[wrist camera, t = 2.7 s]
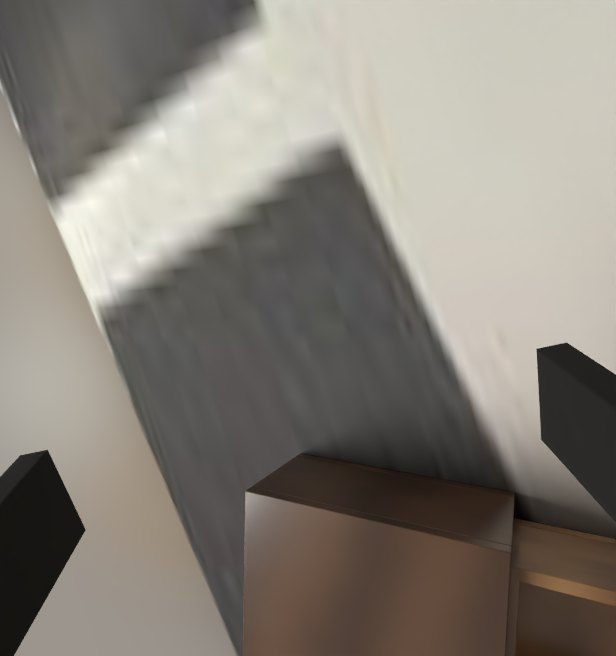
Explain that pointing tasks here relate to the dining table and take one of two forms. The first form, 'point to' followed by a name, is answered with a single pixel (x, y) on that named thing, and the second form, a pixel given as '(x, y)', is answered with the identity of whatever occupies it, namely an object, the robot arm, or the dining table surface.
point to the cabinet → (374, 563)
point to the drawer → (561, 592)
